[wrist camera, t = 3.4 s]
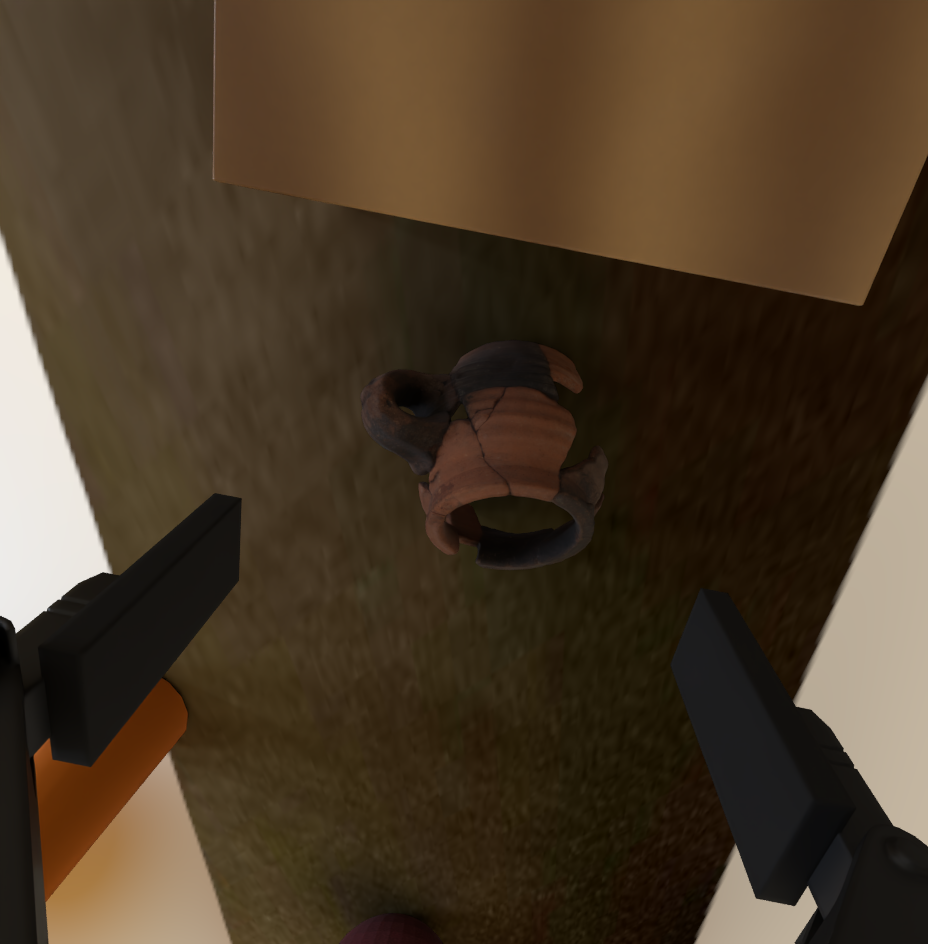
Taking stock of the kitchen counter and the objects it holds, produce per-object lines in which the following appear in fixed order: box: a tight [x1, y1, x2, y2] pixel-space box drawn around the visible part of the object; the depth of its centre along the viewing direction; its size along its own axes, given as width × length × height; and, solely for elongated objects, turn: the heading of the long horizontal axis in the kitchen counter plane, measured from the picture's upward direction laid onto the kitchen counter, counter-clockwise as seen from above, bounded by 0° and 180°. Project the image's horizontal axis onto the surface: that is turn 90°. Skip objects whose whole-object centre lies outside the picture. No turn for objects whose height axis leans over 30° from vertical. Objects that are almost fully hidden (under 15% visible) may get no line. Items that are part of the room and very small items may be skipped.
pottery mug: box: [361, 340, 608, 570], centre depth 27 cm, size 12×9×8 cm
